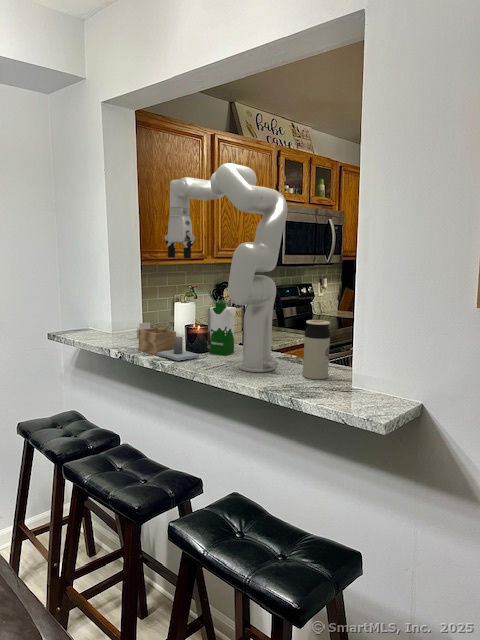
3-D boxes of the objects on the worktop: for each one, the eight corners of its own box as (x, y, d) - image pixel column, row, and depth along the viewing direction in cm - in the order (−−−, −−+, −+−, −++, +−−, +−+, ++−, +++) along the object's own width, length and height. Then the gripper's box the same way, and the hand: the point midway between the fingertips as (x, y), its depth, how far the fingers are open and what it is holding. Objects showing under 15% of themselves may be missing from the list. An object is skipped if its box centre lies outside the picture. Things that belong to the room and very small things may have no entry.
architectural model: (135, 339, 211) (135, 322, 210) (148, 337, 216) (148, 321, 215) (139, 340, 208) (139, 323, 207) (152, 338, 213) (152, 322, 212)
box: (175, 351, 184) (176, 331, 183) (157, 355, 177) (157, 334, 176) (157, 347, 192) (157, 327, 191) (138, 350, 186) (138, 329, 184)
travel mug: (298, 376, 152) (300, 321, 149) (311, 372, 158) (313, 319, 155) (319, 381, 146) (322, 324, 144) (332, 376, 152) (335, 321, 150)
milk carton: (206, 353, 182) (207, 302, 179) (217, 349, 190) (218, 300, 187) (227, 356, 178) (228, 303, 175) (237, 352, 186) (238, 301, 183)
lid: (199, 359, 174) (199, 338, 172) (178, 363, 167) (178, 341, 166) (177, 353, 182) (177, 333, 181) (157, 356, 175) (157, 336, 174)
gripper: (201, 213, 179) (201, 258, 182) (173, 214, 191) (172, 257, 193) (186, 211, 174) (186, 258, 176) (158, 213, 185) (158, 257, 188)
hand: (179, 257), depth 185 cm, fingers open, 9 cm apart
